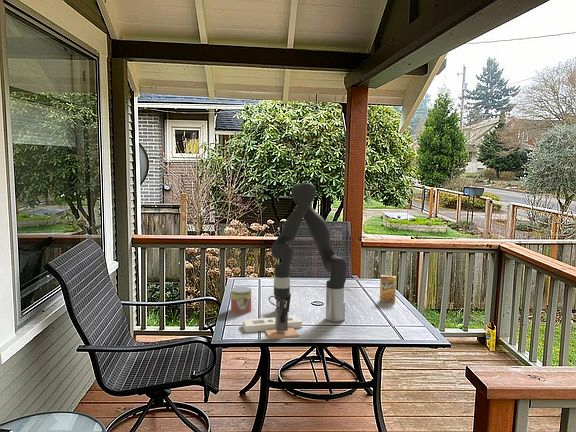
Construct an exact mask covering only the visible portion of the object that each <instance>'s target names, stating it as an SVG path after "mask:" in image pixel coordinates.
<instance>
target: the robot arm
mask: <svg viewBox="0 0 576 432" xmlns="http://www.w3.org/2000/svg"><path fill="white" fill-rule="evenodd" d="M316 193H317V190H316V186H315V185H314V184H312V183H310V182H303V183H298V184H297V183H296V184H294V185H293V186H292V187H291V197H292V200H293V201H294V203H295V205H296V207H295V208H294V209H293V211H292V212H291V213H290V215H289V216H288V217H287V218H286V220H285V222H284V224H283V226H282V227H283V228H282V230H281V231H280V232H281V233H280V234H279V235H278V236H277V238H276V239H275V241H274V242H273V244H272V246H271V249H270V254H271V255H272V257H273V258H276V259H281V262H279V263H276V264H275V265H274V278H273V296H275V297H276V299H275V302H276V303H275V305H276V306H277V307H276V306H275V307H276V308H279V310H280V322H281V323H285V315H287V309H288V304H287V300H286V297H288V296H289V295H290V292H291V279H290V278H291V277H290V268H291V263H292V261H293V258H294V248H293V247H292V245H290V244H288V243H290V242H294V240H295V238H297V237H296V236H297V233H298V231H299V229H300V226H301V223H302V221H303V220H304V222H305V224H306V227H307V228H308V231H309V233H310V235H311V238H312V239H313V242H314V245H315V246H316V248H317V250H318V252H319V255H320V258H321V261H322V265H323V267H324V269H325V270H326V271H327V272H328V273H330V279H328V280H326V284H325V285H326V287H325V290H326V291H325V320H326V321H328V322H334V323H337V322H338V323H339V322H343V321H345V320H346V301H345V283H346V281H347V270H348V268H347V267H348V265H347V262H346V260H345V259H344V258H342V257H340V256H338V255H337V254H336V253H335V251H334V249H333V247H332V244H331V232H330V229H329V227H328V225H327V222H326V220H325V219H324V218H323V216H321V215H320V214H319V213H318V211H316V210H315V208H314V207H313V206H312V205H311V204H312V203H313V201H314V200H315V197H316ZM283 311H284V313H283Z"/></svg>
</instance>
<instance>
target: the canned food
mask: <svg viewBox="0 0 576 432" xmlns="http://www.w3.org/2000/svg"><path fill="white" fill-rule="evenodd" d="M230 312H231V313H232V314H234V315H235V314H236V315H247V314H249V313H251V312H252V288H251V287H248V286H236V287H232V288H231V289H230Z"/></svg>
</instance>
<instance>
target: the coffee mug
mask: <svg viewBox="0 0 576 432" xmlns="http://www.w3.org/2000/svg"><path fill="white" fill-rule="evenodd" d="M291 297H292V292H291V291H290V295H289V296H288V297H286V300H287V304H288V309H287V310H288V313H289V312H290V307H291ZM270 298H274V299H275V300H276V296H274V295H270V296H269V297H268V302H269V303H270V304H271V305H273V306H275V308H277V306H276V303H274V302H272V301H271V300H270Z"/></svg>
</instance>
